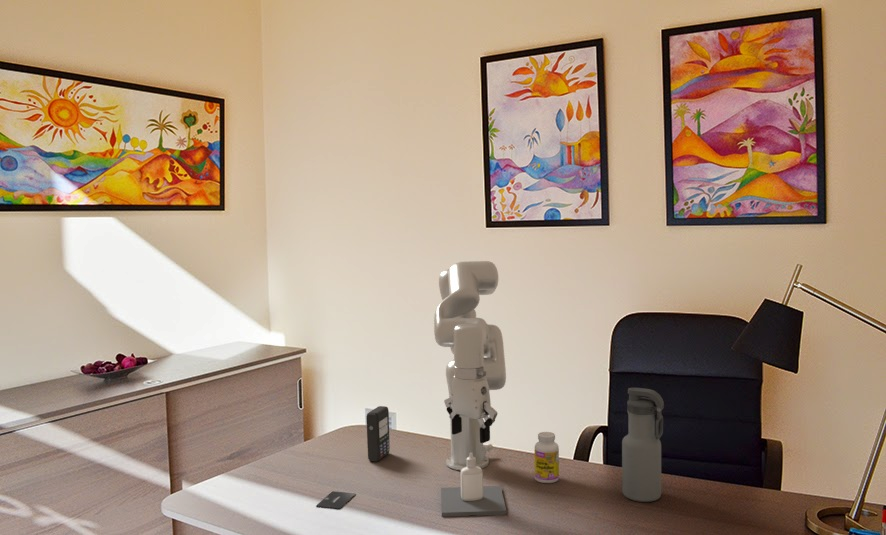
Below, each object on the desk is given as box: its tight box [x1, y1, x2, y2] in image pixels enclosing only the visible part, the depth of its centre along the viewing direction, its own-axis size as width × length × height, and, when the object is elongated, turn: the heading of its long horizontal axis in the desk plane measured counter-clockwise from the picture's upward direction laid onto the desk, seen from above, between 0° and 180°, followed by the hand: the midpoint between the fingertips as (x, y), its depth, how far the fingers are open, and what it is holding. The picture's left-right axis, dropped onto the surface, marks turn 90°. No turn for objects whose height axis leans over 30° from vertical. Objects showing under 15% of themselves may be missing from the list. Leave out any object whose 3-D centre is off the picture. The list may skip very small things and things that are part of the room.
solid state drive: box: [315, 490, 356, 510], centre depth 194 cm, size 7×10×1 cm
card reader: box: [365, 405, 391, 462], centre depth 225 cm, size 9×4×15 cm, turn 159°
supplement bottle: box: [534, 431, 560, 484], centre depth 204 cm, size 7×7×13 cm
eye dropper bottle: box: [460, 453, 484, 501], centre depth 189 cm, size 4×6×12 cm
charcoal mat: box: [440, 485, 507, 517], centre depth 190 cm, size 16×16×1 cm
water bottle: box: [621, 387, 665, 503], centre depth 190 cm, size 10×10×28 cm
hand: (470, 437), depth 189 cm, fingers open, 9 cm apart
